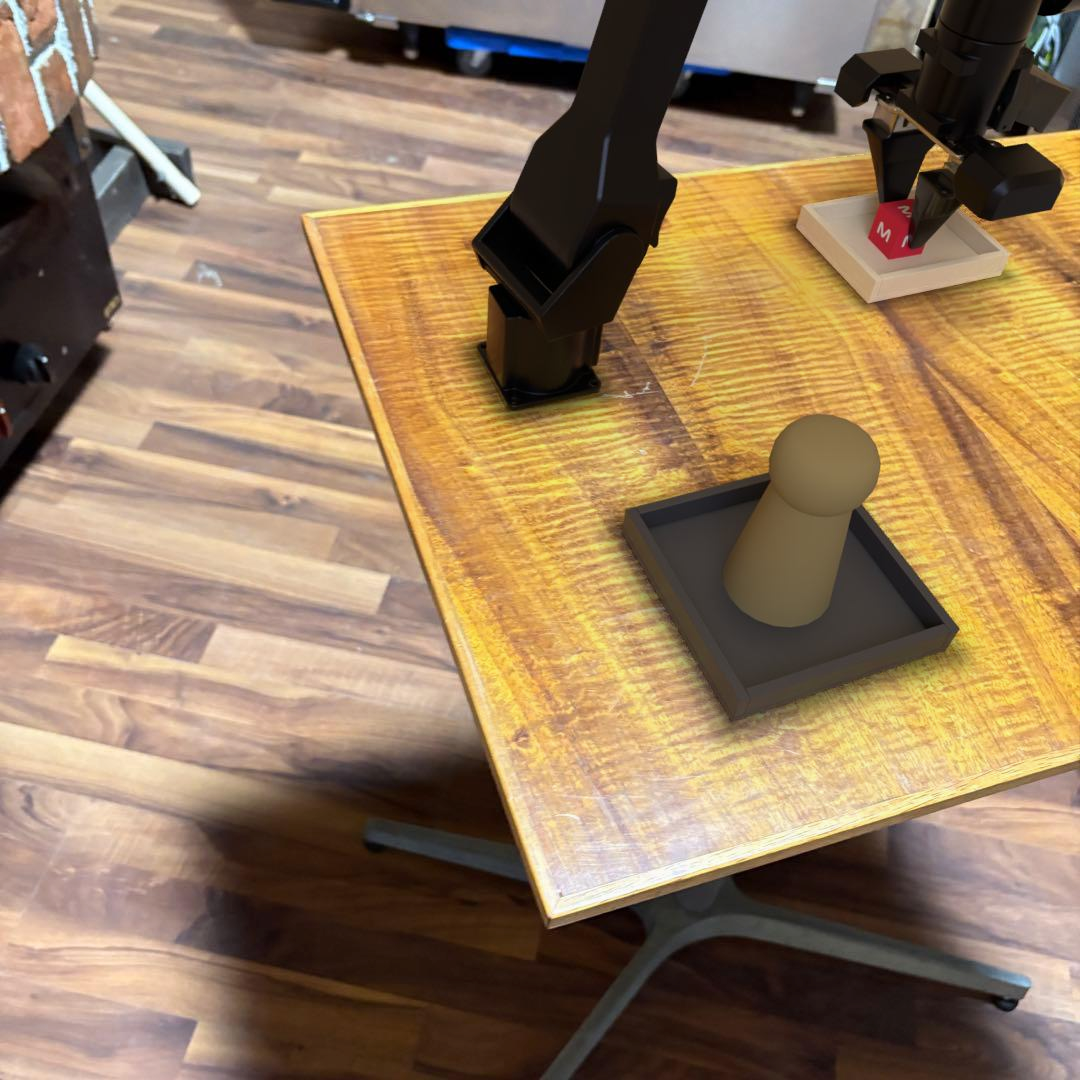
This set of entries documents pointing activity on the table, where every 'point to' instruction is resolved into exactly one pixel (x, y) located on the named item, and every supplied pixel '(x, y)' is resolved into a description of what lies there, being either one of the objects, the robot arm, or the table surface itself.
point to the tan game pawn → (802, 521)
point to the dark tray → (772, 651)
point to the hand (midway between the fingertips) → (901, 234)
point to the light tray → (943, 262)
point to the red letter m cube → (893, 229)
